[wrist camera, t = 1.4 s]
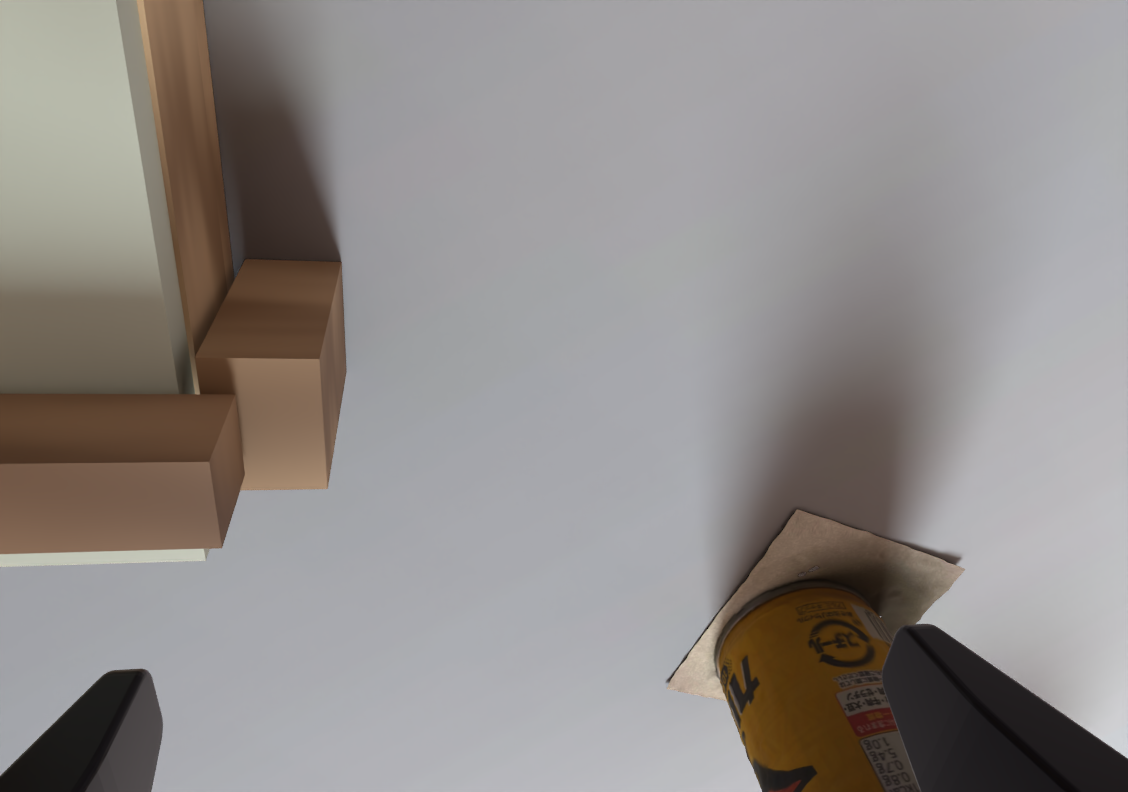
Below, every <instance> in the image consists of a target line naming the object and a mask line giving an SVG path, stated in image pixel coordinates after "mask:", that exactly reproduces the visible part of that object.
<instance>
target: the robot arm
mask: <svg viewBox="0 0 1128 792" xmlns="http://www.w3.org/2000/svg"><path fill="white" fill-rule="evenodd" d="M882 685H883V689H884V692H885V695H886V697H887V700H888V703H889V706H890V709H891V711H892V714H893V717H894V720H895V723H896V725H897V728H898V731H899V734H900V737H901V739H902V742H903V745H904V748H905V751H906V753H907V756H908V759H909V762H910V764H911V767H912V770H913V773H914V776H915V778H916V781H917V784H918V787H919V789H920V792H1128V758H1126V757H1125V756H1123V755H1122V754H1120V753H1119V752H1117V751H1116V750H1115V749H1113V748H1112V747H1110V746H1109V745H1107V744H1106V743H1104V742H1103V741H1101V740H1100V739H1099V738H1097V737H1096V736H1094V735H1093V734H1091V733H1090V732H1088V731H1087V730H1086V729H1084V728H1083V727H1081V726H1080V725H1078V724H1077V723H1075V722H1074V721H1073V720H1071V719H1070V718H1068V717H1067V716H1065V715H1064V714H1062V713H1061V712H1060V711H1058V710H1057V709H1055V708H1054V707H1052V706H1051V705H1049V704H1048V703H1047V702H1045V701H1044V700H1042V699H1041V698H1039V697H1038V696H1036V695H1035V694H1034V693H1032V692H1031V691H1029V690H1028V689H1026V688H1025V687H1023V686H1022V685H1020V684H1019V683H1018V682H1016V681H1015V680H1013V679H1012V678H1010V677H1009V676H1007V675H1006V674H1005V673H1003V672H1002V671H1000V670H999V669H997V668H996V667H994V666H993V665H992V664H990V663H989V662H987V661H986V660H984V659H983V658H981V657H980V656H979V655H977V654H976V653H974V652H973V651H971V650H970V649H968V648H967V647H966V646H964V645H963V644H961V643H960V642H958V641H957V640H955V639H954V638H953V637H951V636H950V635H948V634H947V633H945V632H944V631H942V630H941V629H939V628H938V627H936V626H934V625H931V624H914V625H904V626H901V627H900V628H899V629H898V630H897V632H896V634H895V636H894V639H893V641H892V644H891V647H890V649H889V652H888V654H887V657H886V660H885V662H884V665H883V668H882ZM162 731H163V721H162V715H161V711H160V707H159V703H158V699H157V695H156V691H155V687H154V683H153V680H152V677H151V674H150V673H149V672H148V671H147V670H145V669H129V670H114V671H110V672H108V673H106V674H104V675H103V676H102V677H101V678H100V679H99V680H97V681H96V682H95V683H94V684H93V685H92V686H91V687H90V688H89V689H88V690H87V691H86V692H85V693H84V694H83V695H82V696H81V697H80V698H79V699H78V700H77V701H76V702H75V703H74V704H73V705H72V706H71V707H70V708H69V709H68V710H67V711H66V712H65V713H64V714H63V715H62V716H61V717H60V718H59V719H58V720H57V721H56V722H55V723H54V724H53V725H52V726H51V727H50V728H49V729H48V730H46V731H45V732H44V733H43V734H42V735H41V736H40V737H39V738H38V739H37V740H36V741H35V742H34V743H33V744H32V745H31V746H30V747H29V748H28V749H27V750H26V751H25V752H24V753H23V754H22V755H21V756H20V757H19V758H18V759H17V760H16V761H15V762H14V763H13V764H12V765H11V766H10V767H9V768H8V769H7V770H6V771H5V772H4V773H3V774H2V775H1V776H0V792H151V790H152V785H153V780H154V775H155V770H156V765H157V760H158V755H159V750H160V745H161V740H162Z"/></svg>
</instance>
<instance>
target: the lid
mask: <svg viewBox="0 0 1128 792" xmlns="http://www.w3.org/2000/svg"><path fill="white" fill-rule="evenodd" d="M0 394H195V388H194V382H193V375H192V368H191V362H190V355H189V348H188V341H187V335H186V328H185V321H184V315H183V308H182V301H181V295H180V288H179V281H178V275H177V268H176V261H175V254H174V248H173V241H172V234H171V228H170V221H169V214H168V208H167V201H166V194H165V187H164V181H163V174H162V167H161V161H160V154H159V147H158V141H157V134H156V127H155V120H154V114H153V107H152V100H151V94H150V87H149V80H148V74H147V67H146V60H145V53H144V47H143V40H142V33H141V27H140V20H139V13H138V7H137V0H0ZM208 552H209V549H175V550H138V551H102V552H66V553H30V554H0V567H14V566H47V565H80V564H114V563H147V562H180V561H206V558H207V555H208Z"/></svg>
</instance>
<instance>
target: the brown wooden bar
mask: <svg viewBox="0 0 1128 792" xmlns="http://www.w3.org/2000/svg"><path fill="white" fill-rule="evenodd" d="M244 476H245V470H244V461H243V453H242V445H241V437H240V429H239V420H238V412H237V404H236V396H235V394H0V554H30V553H66V552H102V551H138V550H175V549H211V548H222V546H223V543H224V540H225V537H226V533H227V530H228V527H229V524H230V521H231V518H232V514H233V511H234V508H235V505H236V502H237V498H238V495H239V492H240V489H241V486H242V483H243V479H244Z"/></svg>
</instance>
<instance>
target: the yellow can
mask: <svg viewBox="0 0 1128 792" xmlns="http://www.w3.org/2000/svg"><path fill="white" fill-rule="evenodd" d="M815 566H818V567H819V569H817V570H815V571H812V572H809V569H811V568H813V567H815ZM964 570H965V569H964V568H961V567H959V566H956V565H953V564H950V563H947V562H946V561H944V560H942V559H940V558H937V557H934V556H931V555H929V554H926V553H923V552H920V551H917V550H914V549H912V548H910V547H908V546H905V545H902V544H899V543H896V542H893V541H890V540H887V539H884V538H881V537H878V536H876V535H873V534H872V533H870V532H867V531H862V530H857V529H854V528H851V527H848V526H845V525H843V524H840V523H838V522H835V521H833V520H830V519H826V518H822V517H819V516H816V515H813V514H810V513H807V512H804V511H801V510H798V509H797V510H796V511H795V513H794V514H793V516H792V517H791V518H790V519H789V521H788V523H787V525H786V526H785V528H784V529H783V530H782V532H781V533H780V534H779V535H778V537H777V538H776V539H775V540H774V541H773V542H772V544H771V545H770V547H769V548H768V551H767V552H766V554H765V556H764V557H763V558H762V559H761V560H760V561H759V562H758V564H757V565H756V566H755V568H754V569H753V570H752V571H751V573H750V575H749V577H748V578H747V580H746V581H745V582H744V583H743V584H742V585H741V586H740V587H739V589H738V591H737V592H736V593H735V594H734V595H733V596H732V598H731V599H730V600H729V601H728V602H727V604H726V605H725V606H724V607H723V608H722V610H721V611H720V612H719V614H718V615H717V616H716V618H715V619H714V621H713V622H712V623H711V625H710V626H709V628H708V629H707V631H706V632H705V633H704V634H703V635H702V637H701V639H700V640H699V641H698V643H697V644H696V645H695V646H694V647H693V649H692V650H691V652H690V653H689V655H688V657H687V658H686V660H685V661H684V662H683V663H682V664H681V665H680V667H679V669H678V670H677V671H676V673H675V674H674V676H673V677H672V679H671V681H670V683H669V685H668V687H667V689H670V690H676V691H679V692H684V693H689V694H692V695H700V696H703V697H711V698H715V699H720V700H724V701H727V702H728V705H729V707H730V710H731V714H732V716H733V719H734V721H735V724H736V726H737V729H738V732H739V734H740V738H741V740H742V742H743V745H744V746H745V749H746V753H747V757H748V759H749V761H750V763H751V765H752V767H753V769H754V773H755V774H756V777H757V779H758V781H759V784H760V787H761V789H762V792H920V789H919V787H918V784H917V781H916V778H915V776H914V773H913V770H912V767H911V764H910V762H909V759H908V756H907V753H906V751H905V748H904V745H903V742H902V739H901V737H900V734H899V731H898V728H897V725H896V723H895V720H894V717H893V714H892V711H891V709H890V706H889V703H888V700H887V697H886V695H885V692H884V689H883V685H882V668H883V665H884V662H885V660H886V657H887V654H888V652H889V649H890V647H891V644H892V641H893V639H894V636H895V634H896V632H897V630H898V629H899V628H900V627H901V626H904V625H914V624H916V623H917V622H918V621H919V620H920V619H921V617H922V616H923V614H924V613H925V612H926V611H927V610H928V608H929V607H930V606H931V605H932V604H933V603H934V602H935V601H936V600H937V599H939V598H940V597H941V596H942V595H943V594H944V593H946V592H947V591H948V590H949V589H950V587H951V586H952V584H953V583H954V582H955V581H956V579H957V578H958V577H959V576H960V575H961V574H962V573H963V571H964ZM803 572H806V575H805V576H802V577H799V576H798V575H799V573H803ZM879 616H882V617H881V618H880V617H879Z"/></svg>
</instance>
